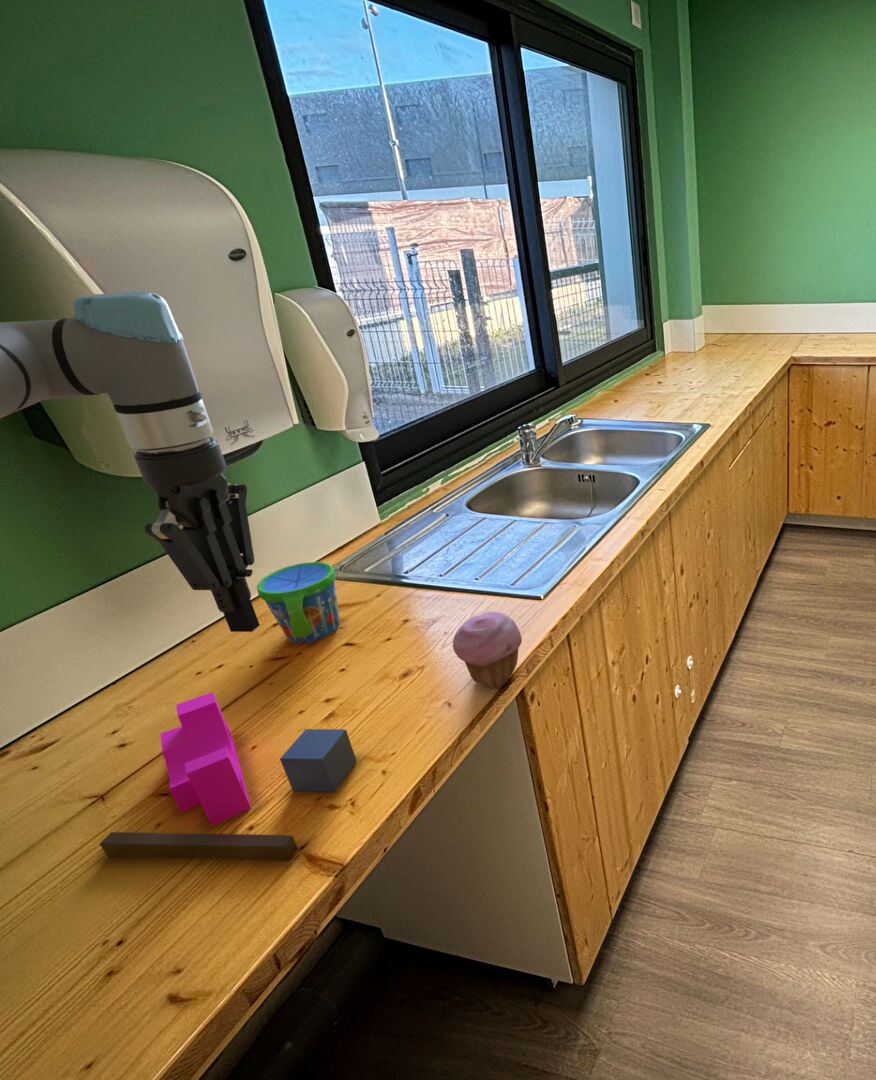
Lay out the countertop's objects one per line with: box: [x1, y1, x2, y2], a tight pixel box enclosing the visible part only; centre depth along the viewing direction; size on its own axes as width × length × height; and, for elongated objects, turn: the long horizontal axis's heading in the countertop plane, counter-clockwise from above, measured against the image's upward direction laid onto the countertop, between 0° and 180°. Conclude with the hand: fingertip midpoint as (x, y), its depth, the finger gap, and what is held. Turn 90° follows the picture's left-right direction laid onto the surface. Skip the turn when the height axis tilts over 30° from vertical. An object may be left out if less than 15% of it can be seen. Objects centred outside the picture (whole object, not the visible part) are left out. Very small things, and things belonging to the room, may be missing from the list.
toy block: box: [159, 691, 252, 826], centre depth 81 cm, size 15×6×8 cm, turn 39°
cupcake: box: [452, 611, 523, 689], centre depth 97 cm, size 9×9×10 cm
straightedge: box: [99, 831, 299, 861], centre depth 73 cm, size 20×2×2 cm, turn 87°
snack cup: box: [256, 561, 340, 644], centre depth 110 cm, size 16×10×10 cm
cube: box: [279, 728, 358, 793], centre depth 82 cm, size 5×5×5 cm
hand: (245, 628), depth 86 cm, fingers closed
